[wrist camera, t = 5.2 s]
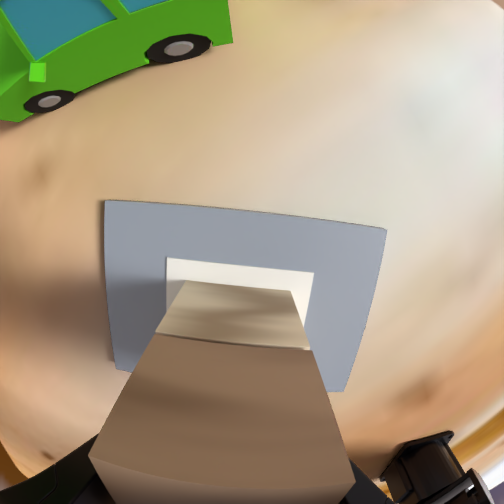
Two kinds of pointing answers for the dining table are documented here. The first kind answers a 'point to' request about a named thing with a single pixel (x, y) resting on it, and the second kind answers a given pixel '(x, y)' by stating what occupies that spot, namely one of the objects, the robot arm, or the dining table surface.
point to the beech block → (235, 316)
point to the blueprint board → (240, 272)
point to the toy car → (94, 44)
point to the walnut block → (222, 429)
